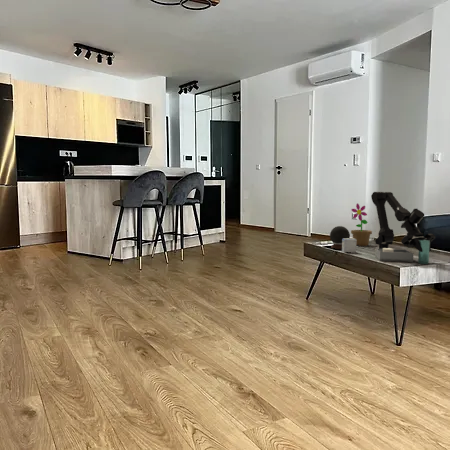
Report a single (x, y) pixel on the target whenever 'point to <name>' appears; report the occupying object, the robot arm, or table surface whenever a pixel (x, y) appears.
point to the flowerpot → (361, 235)
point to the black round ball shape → (338, 236)
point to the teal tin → (424, 252)
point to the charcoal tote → (394, 255)
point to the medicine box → (349, 245)
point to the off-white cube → (388, 250)
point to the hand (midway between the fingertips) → (425, 251)
